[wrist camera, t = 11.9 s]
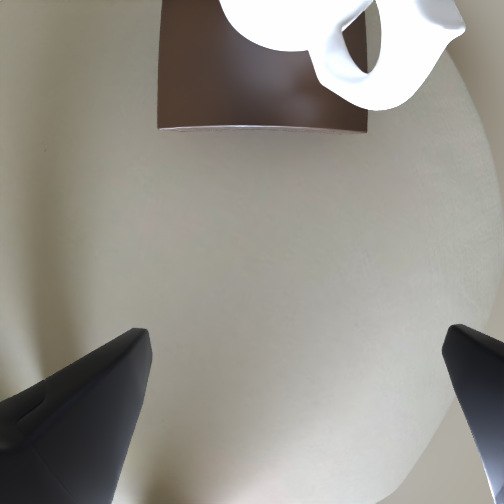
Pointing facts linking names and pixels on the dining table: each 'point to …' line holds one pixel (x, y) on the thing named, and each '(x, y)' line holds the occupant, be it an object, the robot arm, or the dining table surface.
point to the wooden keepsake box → (245, 78)
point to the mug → (334, 49)
